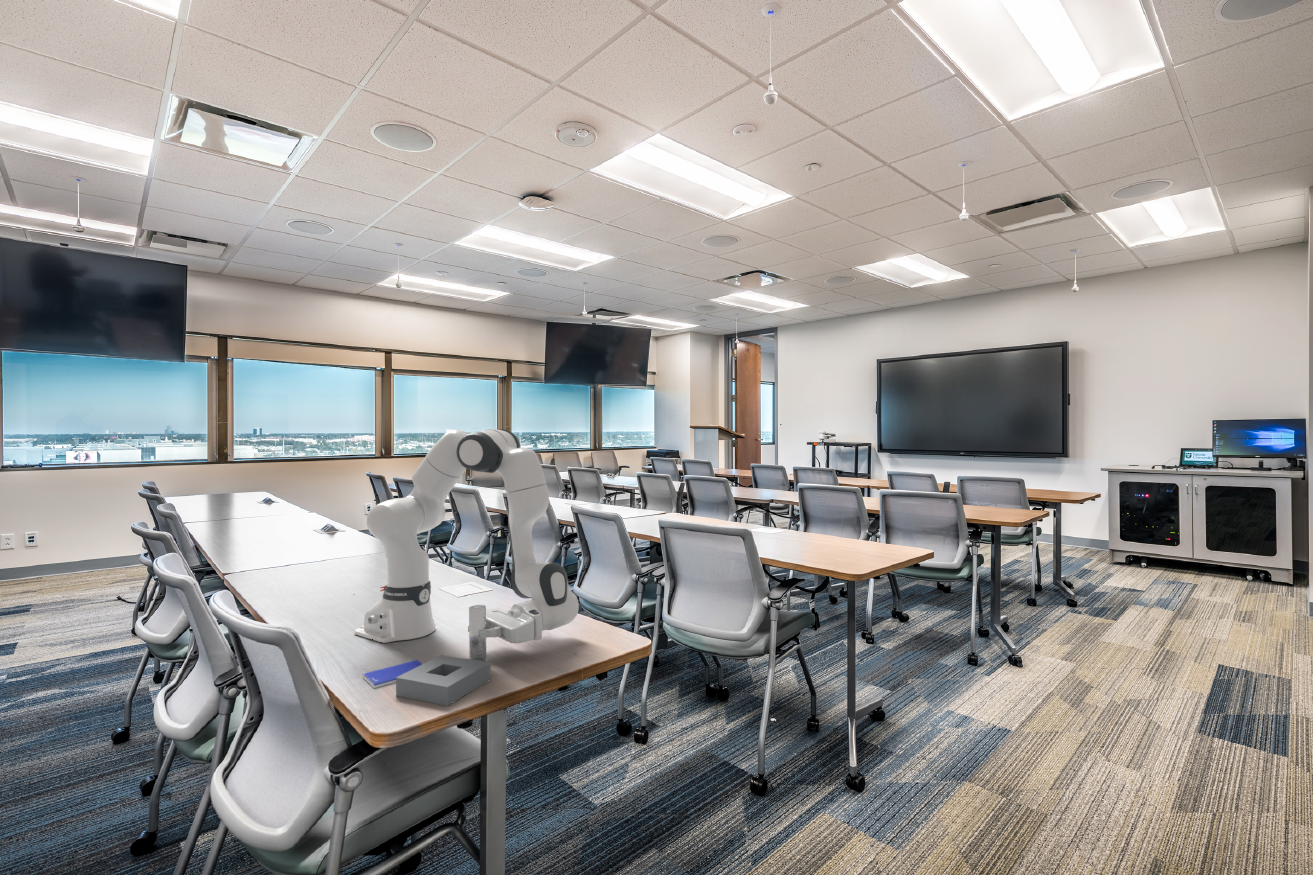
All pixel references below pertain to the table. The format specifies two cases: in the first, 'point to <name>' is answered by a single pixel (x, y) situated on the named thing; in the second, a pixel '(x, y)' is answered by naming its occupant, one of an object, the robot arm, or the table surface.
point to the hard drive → (389, 674)
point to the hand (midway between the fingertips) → (474, 632)
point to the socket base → (442, 679)
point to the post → (475, 624)
